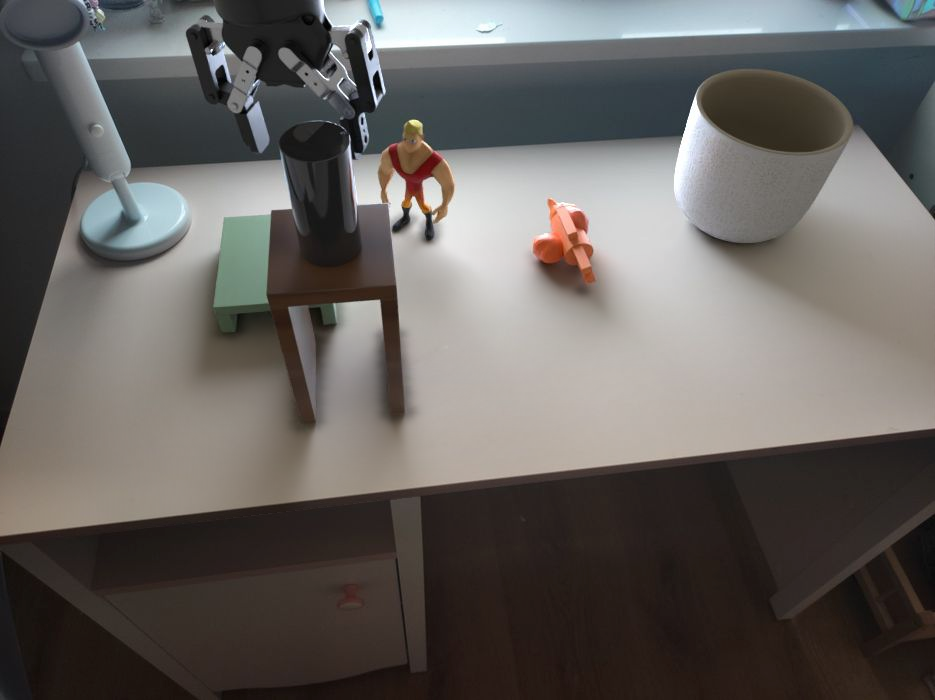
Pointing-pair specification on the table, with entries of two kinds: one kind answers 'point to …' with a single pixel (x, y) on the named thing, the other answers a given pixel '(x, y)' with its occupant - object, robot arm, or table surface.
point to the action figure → (416, 174)
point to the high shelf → (331, 299)
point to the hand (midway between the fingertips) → (308, 151)
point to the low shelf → (247, 271)
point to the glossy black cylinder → (322, 191)
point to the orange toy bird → (566, 239)
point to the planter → (757, 153)
